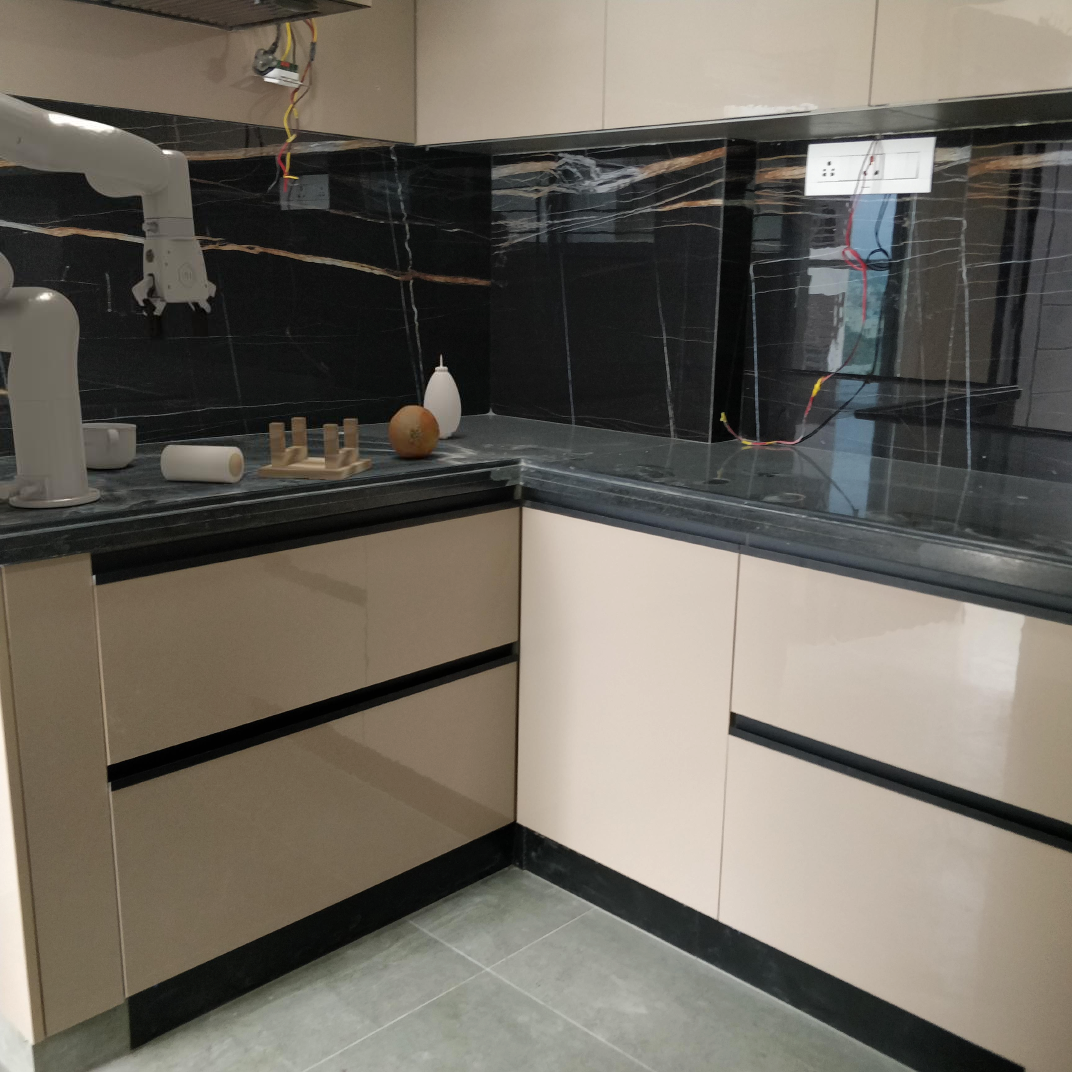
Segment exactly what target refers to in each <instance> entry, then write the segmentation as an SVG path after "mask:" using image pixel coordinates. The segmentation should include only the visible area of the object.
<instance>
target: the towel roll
mask: <svg viewBox="0 0 1072 1072" xmlns="http://www.w3.org/2000/svg"><path fill="white" fill-rule="evenodd" d="M243 455H244V454H243V453H242V451H241V449H240V448H238V447H237V446H220V445H218V446H213V445H185V444H184V445H183V444H182V445H181V444H169V445H166V447H164V448H163V451H162V452H161V455H160V469H161V470H160V471H161V472H162V475H163V477H164V478H165V479H166V480H167V481H177V482H179V481H180V482H181V481H182V482H205V483H227V484H230V483H231V484H234V483H237V482H239V481H240V480H241V478H242V477H243V473H244V469H245V460H244V456H243Z"/></svg>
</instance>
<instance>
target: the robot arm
mask: <svg viewBox="0 0 1072 1072" xmlns="http://www.w3.org/2000/svg"><path fill="white" fill-rule="evenodd" d="M0 159H2V160H5V161H7V162H10V163H13V164H15V165H19V166H21V167H25V168H28V169H33V170H39V171H44V172H45V171H46V172H63V173H67V172H68V173H81V174H84V175H85V178H86V181H87V183H88V184H89V185H90V186H91V188H92V189H94V191H96V192H97V193H99V194H101V195H103V196H106V197H110V198H124V197H125V198H126V197H133V196H141V202H142V210H143V220H144V222H142V226H141V227H142V228H141V229H142V231H144V232H145V238H146V239H144V242H143V254H142V255H143V256H142V257H143V259H142V261H143V262H142V264H143V266H142V267H143V269H142V270H143V279H142V280H141V281H139V282H138V283H137V284H135V285H134V286H133V287H132V288H131V291H132V293H133V296H134V298H135V299H136V301H137V305H138V306H139V308H140V309H141V310H142V313H143V315H144V316H146V317H147V327H148V335H149V336H148V337H149V340H150V341H160V342H161V341H162V342H163V341H167V338H168V337H167V327H166V319H165V318H166V317H165V315H164V314H162V312H163V310H164V308H165V307H166V305H167V303H188V304H189V306H190V307H191V308H192V310H193V312H191V322H192V324H191V325H192V334H193V336H194V337H195V338H196V337H197V338H199V337H200V338H204V337H205V338H208V337H210V335H211V332H210V321H209V313H211V310H212V308H211V306H212V305H213V303H214V301H215V298H214V297H215V295H216V294H215V293H216V290H217V286H216V284H214V283H213V282H211V281H209V280H208V276H207V270H206V264H205V260H204V259H205V258H204V255H203V250H202V247H201V245H200V241H199V240H198V239H196V236H195V235H196V234H195V224H194V217H193V216H194V214H193V203H192V193H191V183H190V181H191V180H190V172H189V163H188V159H187V156H186V155H185V154H184V153H183V152H181V151H179V150H175V149H163V148H160V147H159V146H158V145H157V144H155V143H154V142H152V141H150V140H148V139H146V138H143V137H141V136H138V135H136V134H133V133H131V132H128V131H127V130H126V131H125V130H123V129H121V128H120V127H119V128H118V127H115V126H112V125H109V124H105V123H103V122H102V123H101V122H98V121H93V120H88V119H84V118H81V117H80V118H79V117H76V116H73V115H70V114H69V115H68V114H65V113H61V112H57V111H51V110H48V109H45V108H41V107H39V106H36V105H34V104H31V103H28V102H25V101H23V100H21V99H18V98H15V97H13V96H11V95H7V94H6V93H3V92H0ZM14 279H15V277H14V271H13V267H12V266H11V263H10V262H9V260H8V259H7V258H6V256H5V255H4V254H3V253H2V252H1V251H0V352H3V353H4V352H5V353H10V358H9V363H8V364H9V365H8V370H7V391H8V392H7V393H8V400H9V407H10V417H11V418H10V419H11V427H12V432H13V433H12V434H13V442H14V452H15V461H16V463H15V464H16V470H17V471H16V472H17V475H14V476H13V479H14V481H13V482H12V484H5V485H2V486H0V499H1V500H7V499H8V502H9V504H10V505H11V506H12V507H16V508H25V509H26V508H27V509H46V508H47V509H48V508H63V507H69V506H71V507H72V506H77V505H82V504H87V503H91V502H94V501H97V500H98V499H99V500H100V498H101V493H100V492H101V491H100V490H99V489H98V488H95V487H91V486H89V482H88V481H89V480H88V471H87V467H86V458H85V448H84V437H83V427H82V424H83V418H82V408H81V398H80V392H79V389H80V388H79V377H78V351H79V341H80V340H79V339H80V322H79V321H80V320H79V316H78V312H77V311H76V309H75V307H74V305H73V304H72V302H71V301H70V300H69V299H68V298H67V297H66V296H64V295H63V294H62V293H60V292H58V291H57V290H55V289H54V290H53V289H51V288H49V287H48V288H47V287H41V286H17V287H13V285H14V281H15V280H14Z"/></svg>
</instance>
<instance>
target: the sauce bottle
mask: <svg viewBox="0 0 1072 1072" xmlns="http://www.w3.org/2000/svg"><path fill="white" fill-rule="evenodd" d="M439 359H440V360H439V362H440V363H439V364H440V365H439V366H437V367H435V369H434V370H435V371H434V373H433V374H432V375H431V377H430V378H429V381H428V384H427V386H426V389H425V394H424V399H423V408H426V409H428V410H429V411H430V412H431V413H432V414H433V415H434V417H435V418H436V420H437V422H438V425H439V430H440V435H439V439H441V440H443V439H444V440H445V439H448V437H452V433H454V432H456V431H457V429H458V427H459V424H460V422H461V416H462V404H461V397H460V394H459V390H458V387H457V385H456V382H455V380H454V378H453V376H452V375H451V373H450V372H449V369H448V367H447V366H443V355H442V354H440V357H439Z"/></svg>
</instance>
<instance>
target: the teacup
mask: <svg viewBox="0 0 1072 1072" xmlns="http://www.w3.org/2000/svg"><path fill="white" fill-rule="evenodd" d="M82 427H83V437H84V448H85V458H86V468H89V469H96V470H102V469H105V470H107V469H108V470H110V469H120V468H121V469H122V468H125V467H127V466H128V464H129V463H131V462H132V461H133V460H134V458H135V456H136V451H137V450H136V449H137V434H136V433H137V431H136V429H137V425H136V424H132V423H116V422H114V423H113V422H112V423H111V422H110V423H109V422H94V423H93V422H92V423H91V422H90V423H89V422H87V423H86V422H85V423H82Z"/></svg>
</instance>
